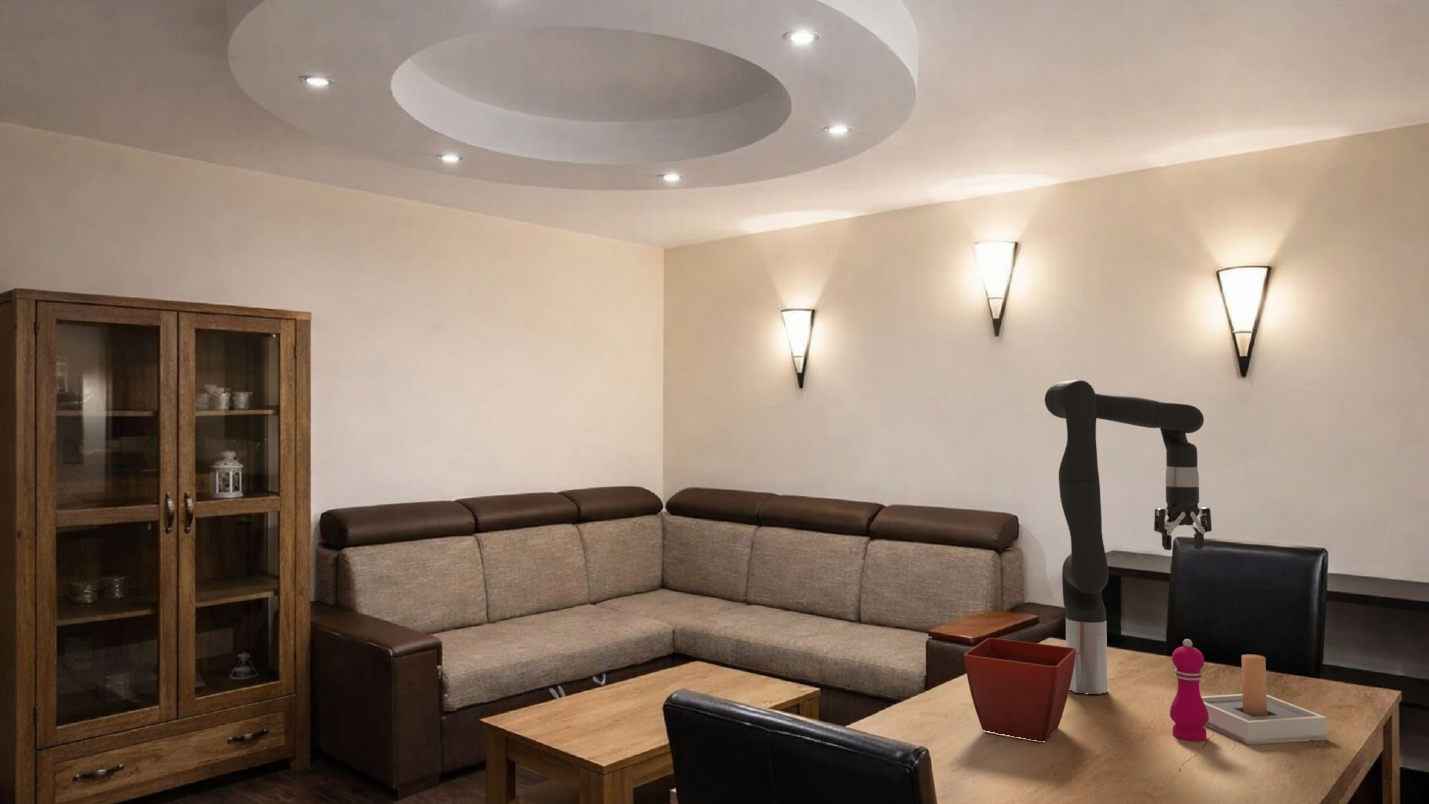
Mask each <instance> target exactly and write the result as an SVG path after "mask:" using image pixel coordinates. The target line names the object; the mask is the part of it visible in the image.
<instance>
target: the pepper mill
mask: <svg viewBox="0 0 1429 804" xmlns="http://www.w3.org/2000/svg"><path fill="white" fill-rule="evenodd" d="M1182 645H1183V646H1179V647H1177V648H1176V649H1175V650H1173V651H1172V655H1171V661H1172V663H1173V665H1174V666H1175V667H1176V668H1175V669H1174V672H1175V673H1174V676H1175V678H1176V679H1177V690H1176V693H1175V696H1174V698H1173V700H1172V702H1171V705H1170V708H1169V717H1170V719H1171V720H1172V721H1173V722H1174V724H1173V725H1172V735H1173V736H1174V737H1175V738H1177V739H1179V740H1184V741H1189V742H1203V741H1206V740H1207V729H1206V728H1205V727H1206V724H1207V722H1208V720H1209V716H1208V711H1207V708H1206V706H1205V704H1204V702H1203V700H1202V698H1201V696H1202V695H1201V691H1200V680H1202V679H1203V676H1202V674H1203V673H1202V671H1201V670H1202V668H1203V667H1204V666H1205V657H1204V655H1203V653H1202V652H1201V651H1200V650H1199V649H1198V648H1196V647H1193V642H1192V640H1191V639H1189V638H1185V639H1184V640H1183V641H1182Z"/></svg>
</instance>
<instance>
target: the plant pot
mask: <svg viewBox="0 0 1429 804" xmlns="http://www.w3.org/2000/svg"><path fill="white" fill-rule="evenodd" d="M1075 656H1076V649H1075V648H1069V647H1066V646H1060V645H1051V644H1045V643H1044V644H1042V643H1036V642H1028V641H1020V640H1012V639H1004V638H995V637H989V638H986V639H984V640H983V641H982V642H980V643H978V644H977V645H976V646H974V647H972V648H970V649H969V650H968V651H966V652H964V654H963V658H964V659H963V660H964V666H965V670H966V671H965V672H966V676H967V681H968V687H969V692H970V695H971V699H972V703H973V706H974V708H975V712H976V715H977V719H978V722H979V724H980V726H981V729H983V730H985V731H990V732H995V733H998V734H1005V735H1010V736H1014V737H1021V738H1026V739H1031V740H1037V741H1041V742H1042V741H1046V740H1047V739H1048V738H1049V739H1050V737H1051V736H1052V735H1053V734H1054V733H1055V732H1056V731H1057V729H1058V728H1059V725H1060V723H1061V720H1062V717H1063V714H1064V711H1065V708H1066V704H1067V702H1068V701H1067V700H1068V696H1069V692H1070V690H1069V689H1070V685H1071V680H1072V675H1073V669H1074V663H1075ZM983 730H982V731H983ZM1055 730H1056V731H1055ZM1054 731H1055V732H1054ZM1053 732H1054V733H1053ZM1051 734H1052V735H1051ZM1049 739H1048V740H1049ZM1048 740H1047V741H1048ZM1047 741H1046V742H1047Z"/></svg>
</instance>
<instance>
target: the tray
mask: <svg viewBox="0 0 1429 804" xmlns="http://www.w3.org/2000/svg"><path fill="white" fill-rule="evenodd" d="M1266 695H1267V716H1257V717H1252V716H1250V715H1248V714H1245V713H1243V693H1238V694H1218V695H1205V696H1202V695H1201V698H1202V700H1203V702H1204V704H1205V706H1206V708H1207V711H1208V716H1209V720H1208V722H1207V724H1206V725H1205V727H1209V728H1210V729H1213V730H1215V731H1217V732H1219V733H1221V734H1223V735H1225V736H1228V737H1230V738H1232V739H1234V740H1237V741H1238V742H1241V743H1243V744H1245V745H1247V746H1255V745H1257V746H1258V745H1267V744H1268V745H1269V744H1284V743H1296V742H1297V743H1298V741H1299V742H1309V741H1310V740H1313V741H1324V740H1328V722H1327V721H1328V717H1327V716H1324V715H1322V714H1319V713H1316V712H1313V711H1311V710H1309V709H1306V708H1303V707H1300V706H1298V705H1295V704H1293V703H1290V702H1287V701H1285V700H1281V699H1280V698H1277V697H1274V696H1272V695H1269V694H1267V693H1266Z"/></svg>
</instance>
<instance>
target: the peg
mask: <svg viewBox="0 0 1429 804" xmlns="http://www.w3.org/2000/svg"><path fill="white" fill-rule="evenodd" d="M1266 665H1267V664H1266V656H1263V655H1260V654H1259V655H1258V654H1253V653H1252V654H1248V653H1247V654H1242V655H1241V682H1242V683H1241V684H1242V685H1241V686H1242V694H1243V713H1245V714H1248V715H1250V716H1252V717H1257V716H1267V695H1268V694H1267V668H1266ZM1266 694H1267V695H1266Z"/></svg>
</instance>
